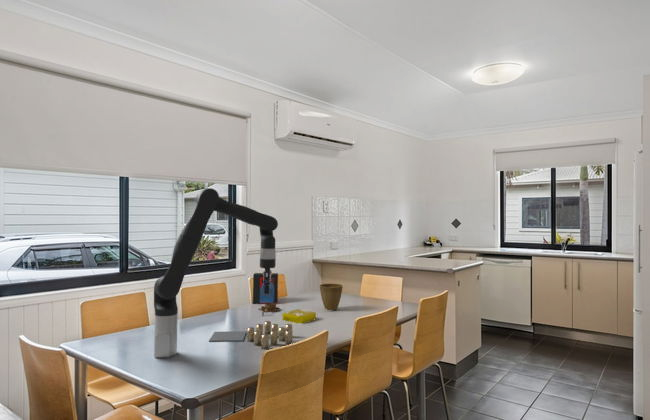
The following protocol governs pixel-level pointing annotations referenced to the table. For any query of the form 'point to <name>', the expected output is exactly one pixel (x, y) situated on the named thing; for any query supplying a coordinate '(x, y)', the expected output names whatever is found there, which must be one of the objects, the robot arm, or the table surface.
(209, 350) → the table surface
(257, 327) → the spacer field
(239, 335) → the mat
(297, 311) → the element tile
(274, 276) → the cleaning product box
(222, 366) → the table surface
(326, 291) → the plant pot
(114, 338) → the table surface
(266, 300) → the perfume bottle
